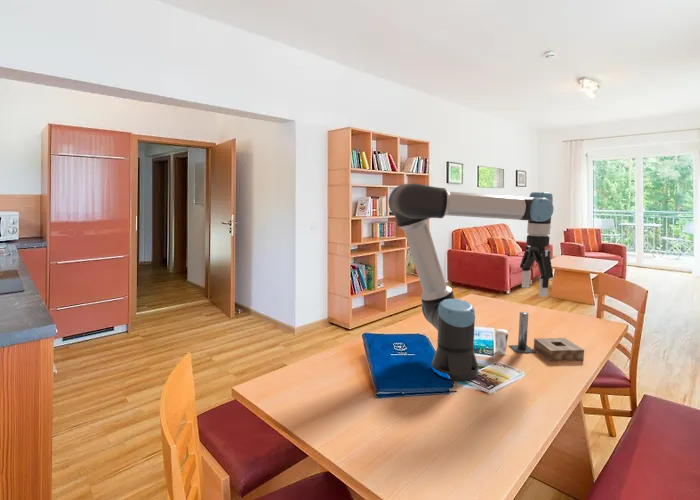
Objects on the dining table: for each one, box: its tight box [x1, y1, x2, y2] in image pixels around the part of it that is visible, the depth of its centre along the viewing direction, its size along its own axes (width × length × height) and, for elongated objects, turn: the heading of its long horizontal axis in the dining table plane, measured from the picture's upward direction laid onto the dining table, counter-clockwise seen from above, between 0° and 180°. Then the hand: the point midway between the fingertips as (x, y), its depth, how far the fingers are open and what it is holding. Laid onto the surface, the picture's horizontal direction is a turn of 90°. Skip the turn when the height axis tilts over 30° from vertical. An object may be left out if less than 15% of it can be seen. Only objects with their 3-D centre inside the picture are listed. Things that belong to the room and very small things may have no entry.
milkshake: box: [494, 327, 512, 356], centre depth 147 cm, size 4×5×10 cm
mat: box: [508, 344, 537, 354], centre depth 151 cm, size 7×7×1 cm
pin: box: [517, 311, 529, 350], centre depth 150 cm, size 3×3×14 cm
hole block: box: [533, 337, 585, 362], centre depth 146 cm, size 12×12×4 cm
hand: (533, 291), depth 147 cm, fingers open, 13 cm apart
